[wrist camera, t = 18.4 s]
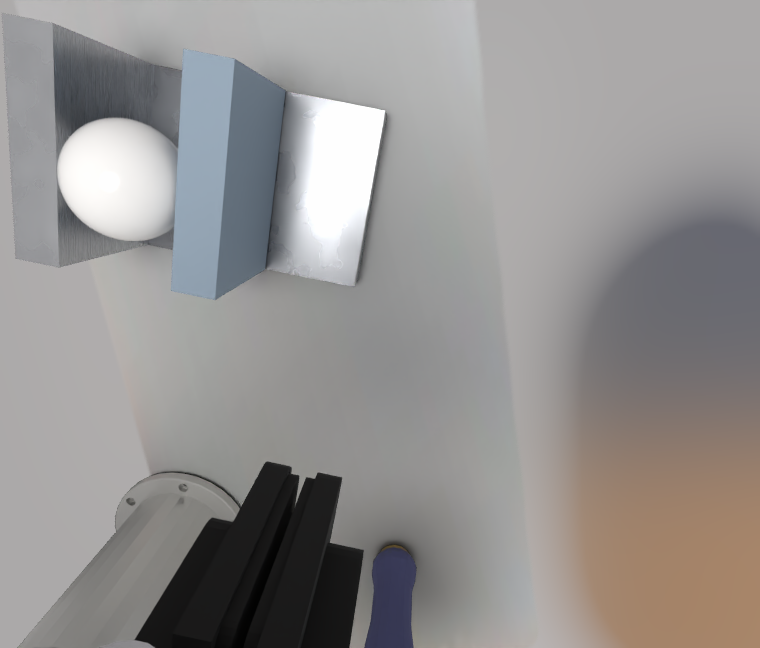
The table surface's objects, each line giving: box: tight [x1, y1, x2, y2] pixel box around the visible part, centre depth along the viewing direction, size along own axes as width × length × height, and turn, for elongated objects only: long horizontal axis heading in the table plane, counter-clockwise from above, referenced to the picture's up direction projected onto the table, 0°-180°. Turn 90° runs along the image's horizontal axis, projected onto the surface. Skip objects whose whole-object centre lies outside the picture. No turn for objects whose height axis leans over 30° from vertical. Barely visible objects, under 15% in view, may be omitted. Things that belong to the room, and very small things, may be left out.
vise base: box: [2, 13, 387, 287], centre depth 29 cm, size 12×18×11 cm, turn 79°
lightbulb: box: [57, 117, 178, 241], centre depth 28 cm, size 6×6×11 cm
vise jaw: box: [171, 49, 286, 300], centre depth 28 cm, size 12×2×9 cm, turn 169°
